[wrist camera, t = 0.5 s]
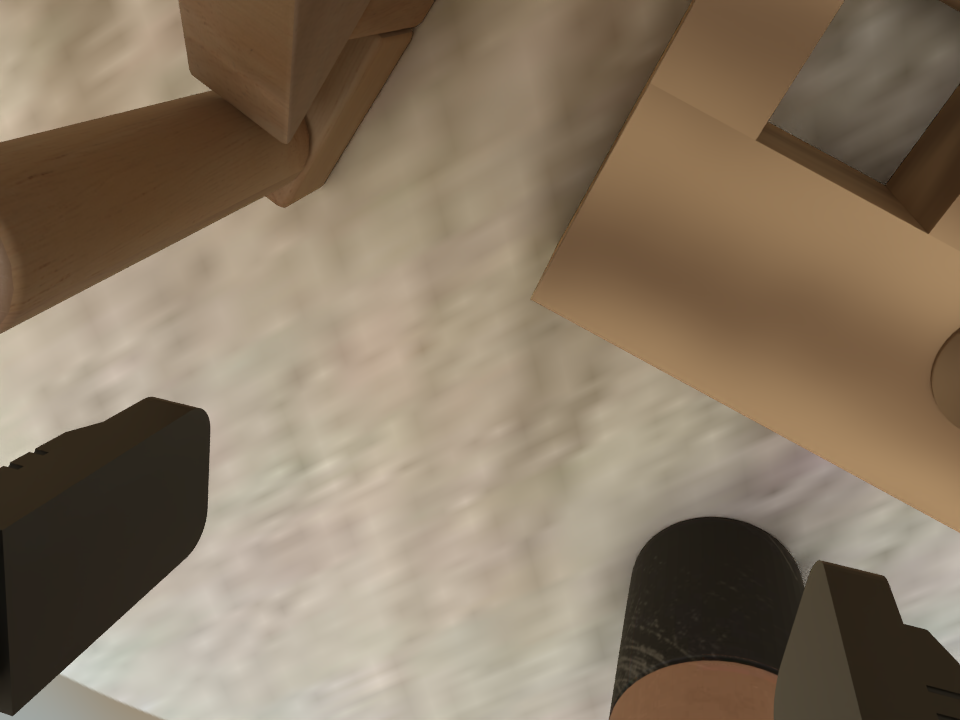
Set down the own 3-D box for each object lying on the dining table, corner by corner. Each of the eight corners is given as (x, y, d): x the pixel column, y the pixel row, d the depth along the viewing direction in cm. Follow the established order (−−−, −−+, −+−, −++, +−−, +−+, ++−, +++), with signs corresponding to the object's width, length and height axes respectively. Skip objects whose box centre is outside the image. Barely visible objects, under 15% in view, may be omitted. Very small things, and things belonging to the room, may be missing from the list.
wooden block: (476, -63, 29) (199, -106, 13) (322, 190, 34) (-17, 389, 18) (387, -133, 28) (-10, -268, 12) (246, 132, 33) (-170, 280, 17)
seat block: (793, -183, 25) (821, -226, 20) (1330, 108, 25) (1509, 146, 20) (557, 244, 32) (528, 302, 27) (979, 474, 32) (1038, 579, 27)
